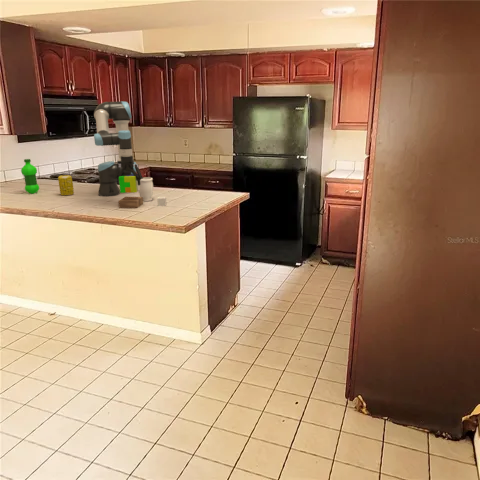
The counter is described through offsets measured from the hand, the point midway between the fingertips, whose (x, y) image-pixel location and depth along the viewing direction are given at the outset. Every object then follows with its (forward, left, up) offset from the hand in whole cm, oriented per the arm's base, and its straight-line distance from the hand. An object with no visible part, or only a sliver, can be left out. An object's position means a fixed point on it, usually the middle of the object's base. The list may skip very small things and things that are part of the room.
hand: (129, 190), depth 273 cm
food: (-22, -62, -11) cm, 67 cm away
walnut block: (0, 0, -11) cm, 11 cm away
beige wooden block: (-6, +19, -11) cm, 23 cm away
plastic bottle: (-23, -92, -11) cm, 96 cm away
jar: (-17, +3, -11) cm, 20 cm away
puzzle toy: (0, 0, -1) cm, 1 cm away
